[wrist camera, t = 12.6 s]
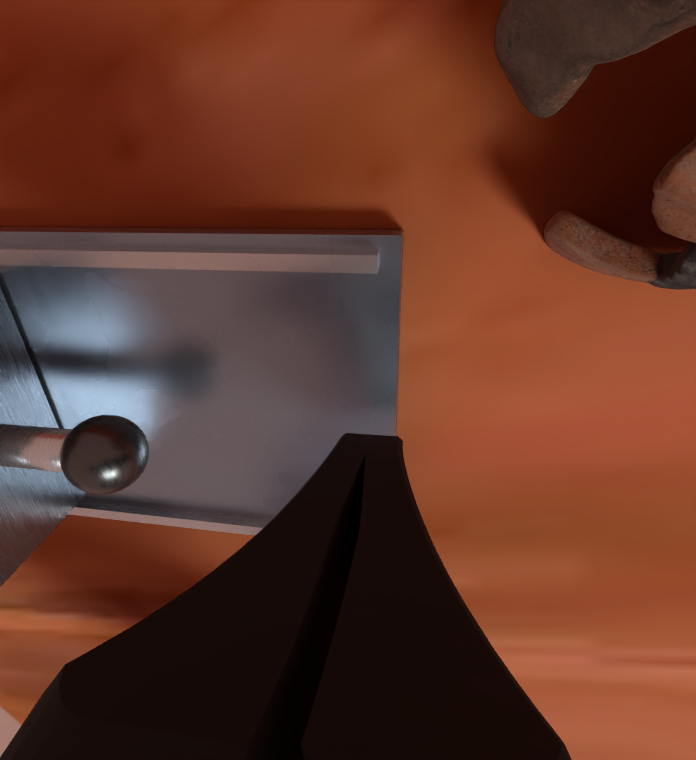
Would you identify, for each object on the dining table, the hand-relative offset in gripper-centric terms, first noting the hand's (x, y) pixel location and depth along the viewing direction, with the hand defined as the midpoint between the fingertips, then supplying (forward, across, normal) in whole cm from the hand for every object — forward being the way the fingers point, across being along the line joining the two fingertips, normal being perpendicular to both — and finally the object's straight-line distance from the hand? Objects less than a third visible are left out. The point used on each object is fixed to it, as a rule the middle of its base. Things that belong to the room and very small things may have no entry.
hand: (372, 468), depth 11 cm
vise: (+3, +10, 0) cm, 10 cm away
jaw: (+2, +9, 0) cm, 9 cm away
